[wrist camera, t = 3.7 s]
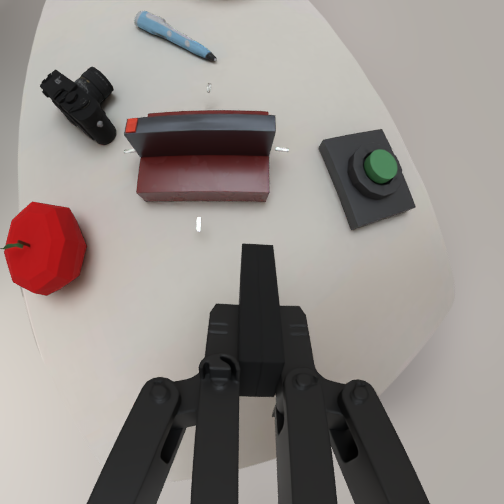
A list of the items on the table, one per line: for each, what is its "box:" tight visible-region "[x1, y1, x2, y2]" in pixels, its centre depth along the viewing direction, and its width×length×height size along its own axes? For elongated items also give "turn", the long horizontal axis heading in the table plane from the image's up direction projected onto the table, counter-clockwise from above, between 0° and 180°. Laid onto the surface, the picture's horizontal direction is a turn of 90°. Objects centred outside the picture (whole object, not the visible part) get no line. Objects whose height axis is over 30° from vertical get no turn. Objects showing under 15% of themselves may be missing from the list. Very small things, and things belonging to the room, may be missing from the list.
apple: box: [1, 202, 87, 296], centre depth 26 cm, size 11×11×10 cm
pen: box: [134, 11, 216, 61], centre depth 33 cm, size 19×3×3 cm, turn 48°
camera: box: [40, 67, 116, 145], centre depth 29 cm, size 14×7×8 cm, turn 51°
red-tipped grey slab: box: [124, 114, 276, 157], centre depth 26 cm, size 14×2×6 cm, turn 89°
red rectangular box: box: [124, 83, 289, 231], centre depth 31 cm, size 18×18×4 cm
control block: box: [319, 129, 415, 230], centre depth 32 cm, size 11×9×4 cm
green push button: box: [364, 149, 397, 184], centre depth 29 cm, size 4×4×2 cm
